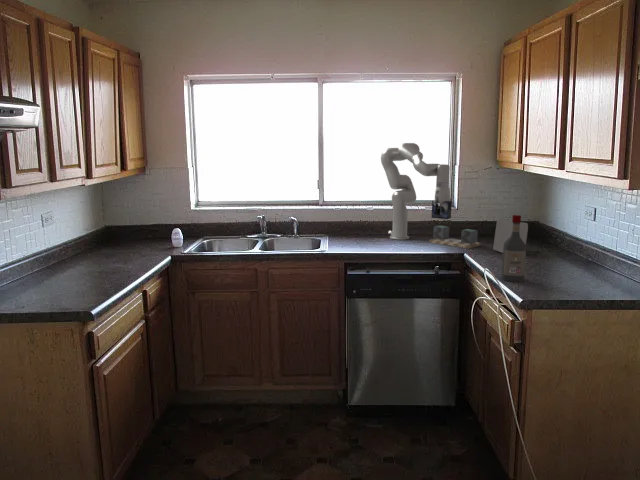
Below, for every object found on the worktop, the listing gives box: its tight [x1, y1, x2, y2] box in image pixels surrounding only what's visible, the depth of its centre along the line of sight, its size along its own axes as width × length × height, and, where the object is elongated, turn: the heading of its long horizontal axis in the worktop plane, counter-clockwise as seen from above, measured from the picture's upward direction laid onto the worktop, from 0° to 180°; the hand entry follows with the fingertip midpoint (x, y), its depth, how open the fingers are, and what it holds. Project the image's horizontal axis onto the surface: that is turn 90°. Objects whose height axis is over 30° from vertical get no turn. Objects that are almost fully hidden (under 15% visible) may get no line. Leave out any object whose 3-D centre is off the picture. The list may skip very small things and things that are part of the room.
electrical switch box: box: [492, 218, 529, 254], centre depth 318 cm, size 15×15×20 cm
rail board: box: [429, 225, 481, 249], centre depth 341 cm, size 28×14×10 cm, turn 45°
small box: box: [431, 200, 453, 220], centre depth 331 cm, size 11×6×10 cm, turn 56°
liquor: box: [501, 214, 527, 282], centre depth 252 cm, size 9×9×30 cm
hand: (441, 214), depth 332 cm, fingers closed on small box, 7 cm apart
